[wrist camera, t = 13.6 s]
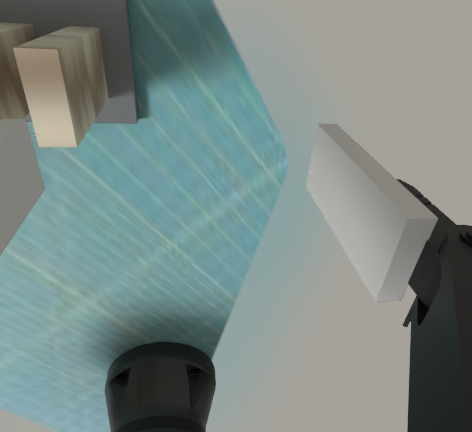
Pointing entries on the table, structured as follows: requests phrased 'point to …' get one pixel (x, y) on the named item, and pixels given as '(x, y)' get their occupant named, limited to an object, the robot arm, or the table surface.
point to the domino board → (111, 34)
